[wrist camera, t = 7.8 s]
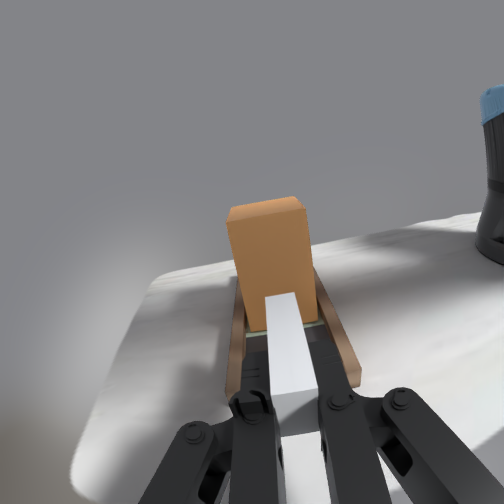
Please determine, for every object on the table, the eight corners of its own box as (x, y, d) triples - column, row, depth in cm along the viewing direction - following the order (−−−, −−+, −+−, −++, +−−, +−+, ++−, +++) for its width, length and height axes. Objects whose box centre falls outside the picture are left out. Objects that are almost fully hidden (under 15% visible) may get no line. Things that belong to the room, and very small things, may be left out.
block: (318, 320, 24) (305, 207, 20) (250, 332, 24) (225, 222, 21) (306, 289, 29) (294, 196, 26) (251, 299, 30) (231, 207, 26)
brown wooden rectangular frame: (360, 386, 16) (361, 368, 16) (231, 407, 17) (225, 391, 17) (308, 266, 37) (307, 254, 36) (241, 278, 37) (239, 266, 37)
